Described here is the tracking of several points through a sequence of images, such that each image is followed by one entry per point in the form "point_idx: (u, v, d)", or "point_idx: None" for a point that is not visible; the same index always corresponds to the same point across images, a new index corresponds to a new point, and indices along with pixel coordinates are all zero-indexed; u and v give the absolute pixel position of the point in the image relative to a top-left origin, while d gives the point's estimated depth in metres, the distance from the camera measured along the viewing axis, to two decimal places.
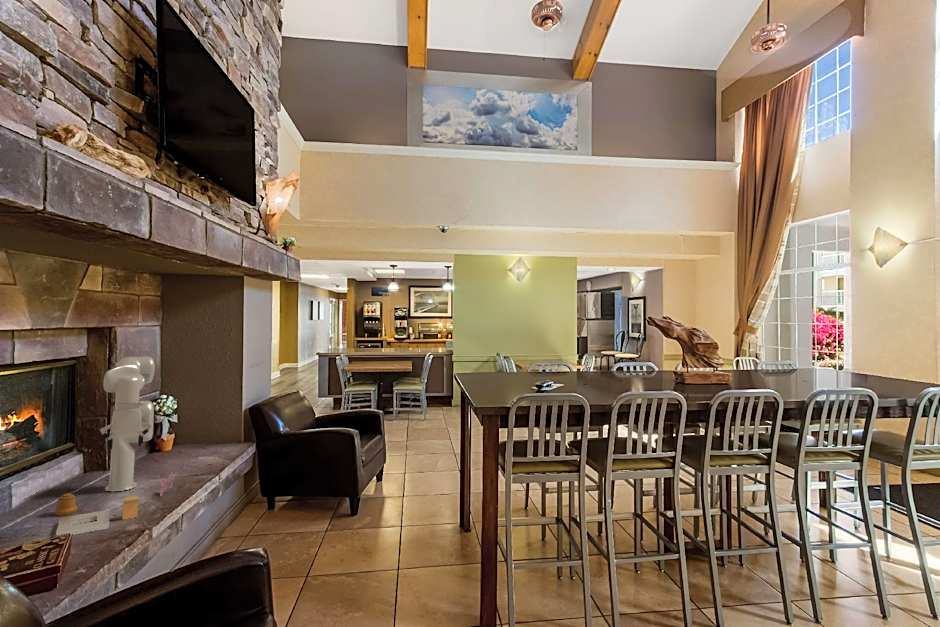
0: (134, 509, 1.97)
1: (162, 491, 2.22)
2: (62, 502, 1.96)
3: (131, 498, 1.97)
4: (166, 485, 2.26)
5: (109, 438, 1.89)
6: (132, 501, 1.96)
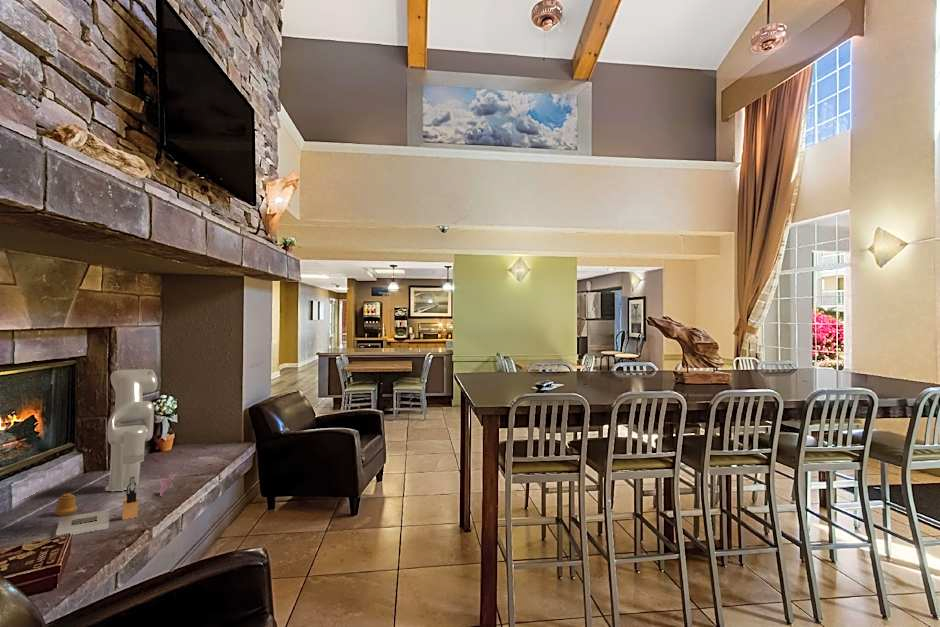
0: (134, 509, 1.97)
1: (162, 491, 2.22)
2: (62, 502, 1.96)
3: None
4: (166, 485, 2.26)
5: None
6: None
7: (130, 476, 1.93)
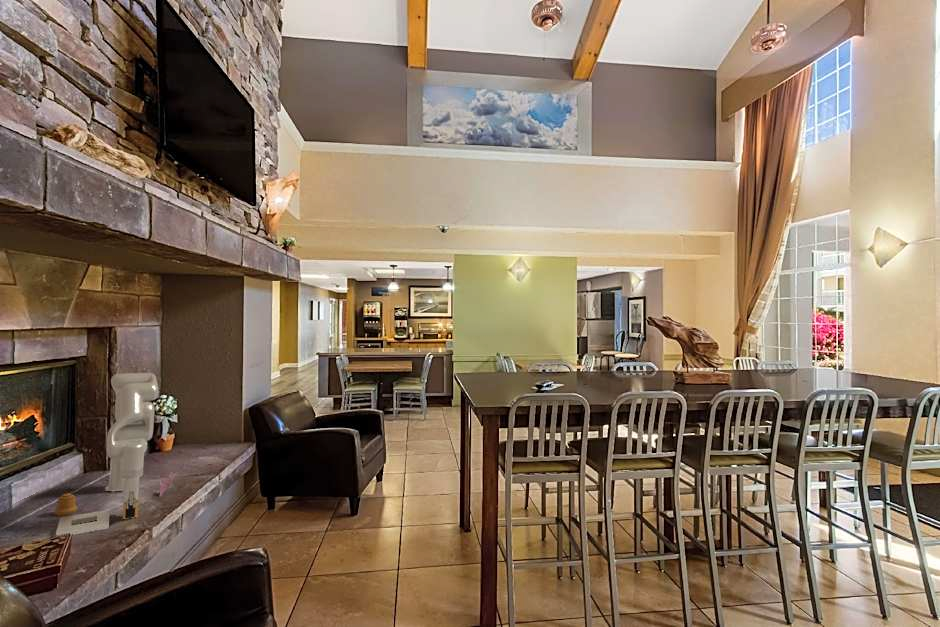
0: None
1: (161, 491, 2.22)
2: (62, 502, 1.96)
3: None
4: (165, 485, 2.25)
5: None
6: None
7: (129, 493, 1.93)
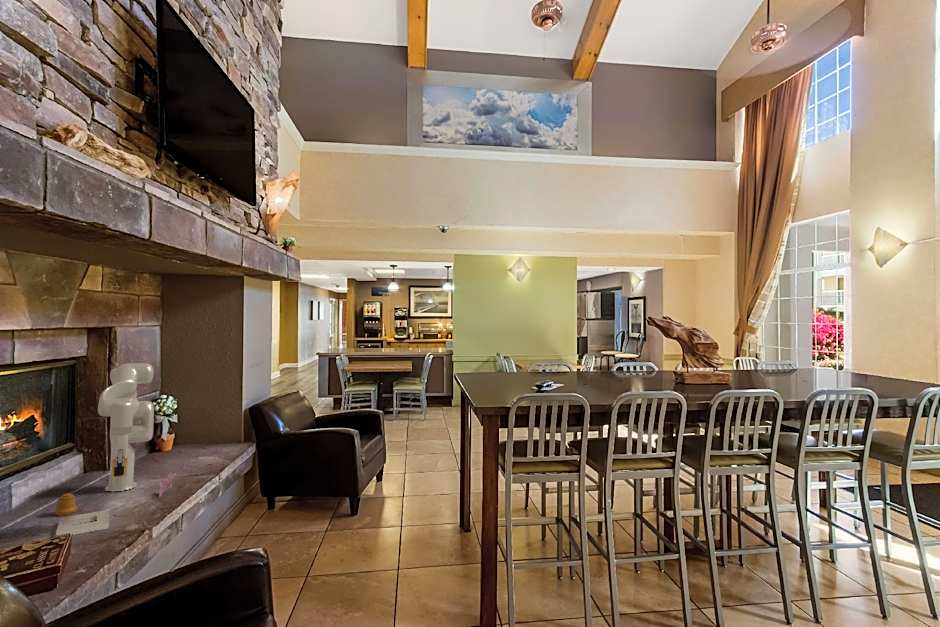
0: None
1: (161, 492, 2.21)
2: (62, 502, 1.96)
3: None
4: (165, 486, 2.25)
5: None
6: None
7: (118, 451, 1.90)
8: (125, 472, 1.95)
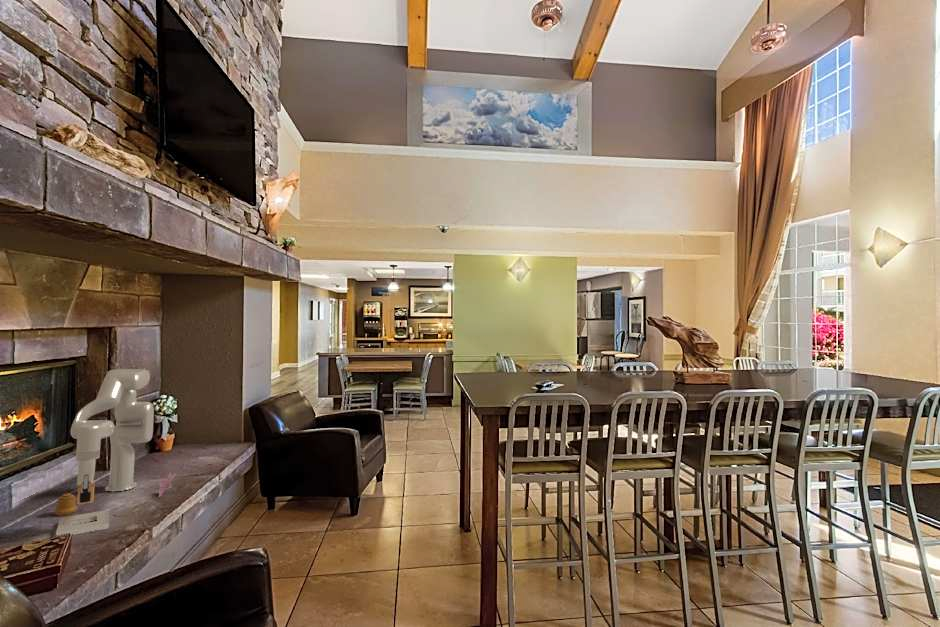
0: None
1: (161, 492, 2.21)
2: (62, 502, 1.96)
3: None
4: (165, 486, 2.25)
5: (89, 490, 1.87)
6: None
7: (83, 476, 1.84)
8: (92, 498, 1.88)
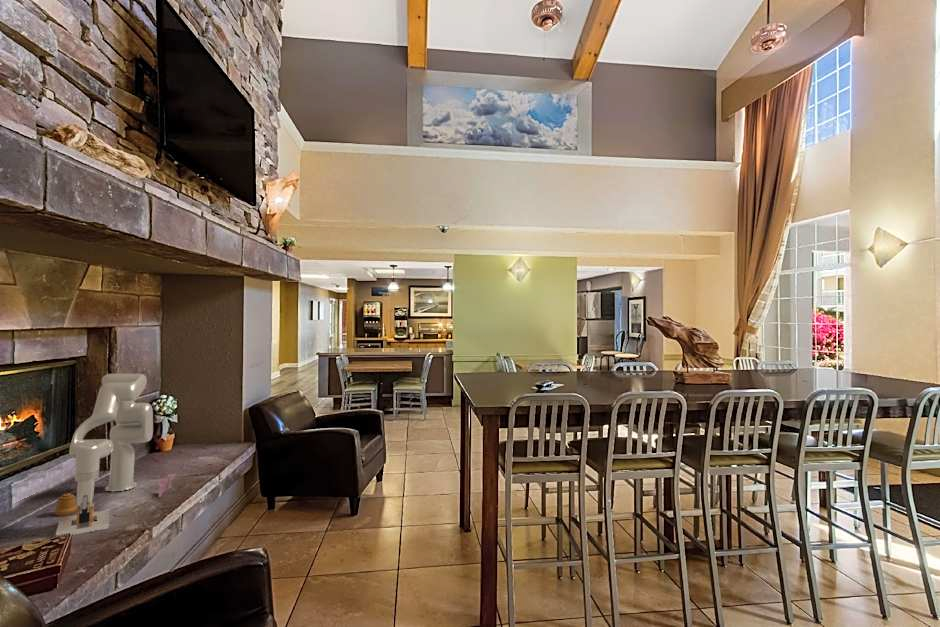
0: None
1: (161, 492, 2.21)
2: (62, 502, 1.96)
3: None
4: (164, 486, 2.25)
5: (88, 511, 1.86)
6: None
7: (82, 496, 1.84)
8: (91, 521, 1.88)
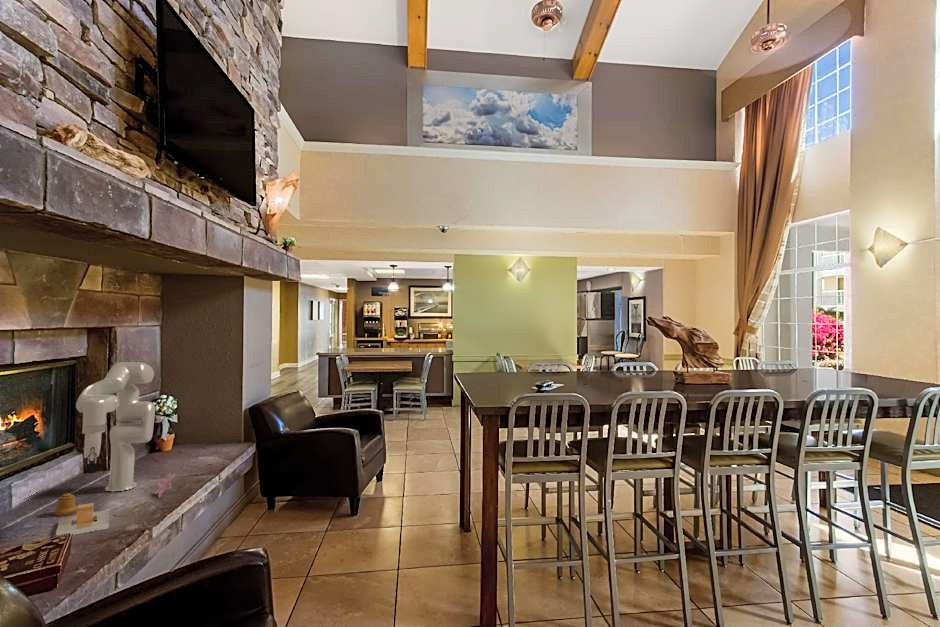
0: (89, 516, 1.88)
1: (160, 492, 2.21)
2: (62, 502, 1.96)
3: (86, 505, 1.88)
4: (164, 486, 2.24)
5: (95, 461, 1.88)
6: (86, 508, 1.87)
7: (90, 446, 1.88)
8: (91, 521, 1.88)
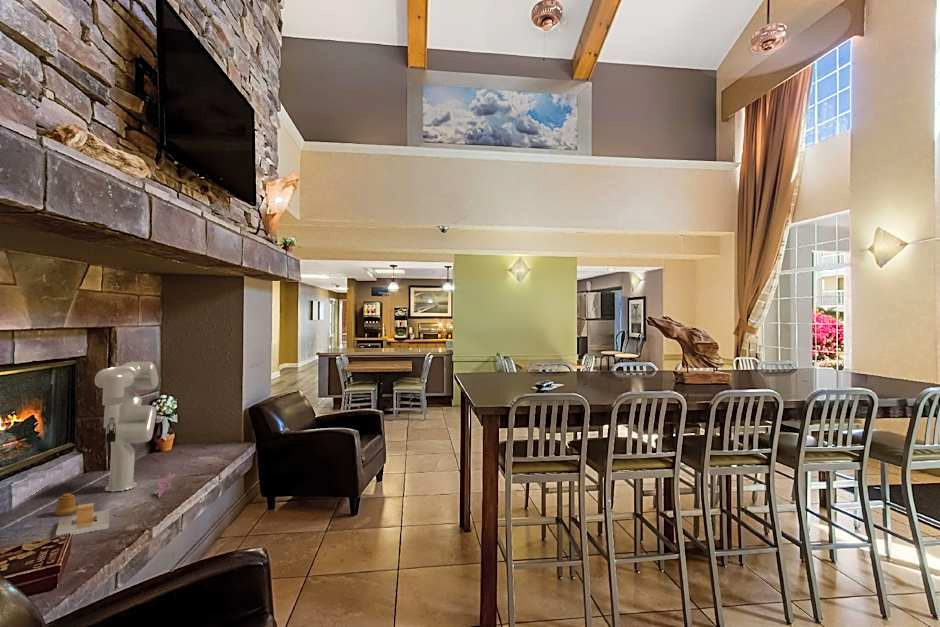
0: (89, 517, 1.88)
1: (160, 492, 2.20)
2: (62, 502, 1.96)
3: (86, 505, 1.88)
4: (164, 486, 2.24)
5: (114, 431, 2.03)
6: (86, 508, 1.87)
7: (109, 417, 2.02)
8: (91, 521, 1.88)
